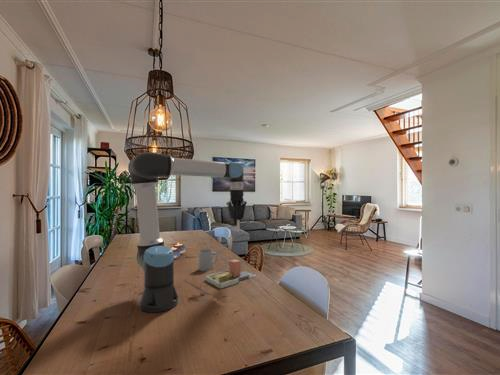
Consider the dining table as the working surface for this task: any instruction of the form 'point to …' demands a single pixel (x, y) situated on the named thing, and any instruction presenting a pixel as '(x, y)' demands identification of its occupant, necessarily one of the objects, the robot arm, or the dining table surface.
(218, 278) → the chip
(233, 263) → the salmon pink flat-faced block
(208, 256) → the mug
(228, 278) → the chip
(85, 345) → the dining table surface
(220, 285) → the tray
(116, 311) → the dining table surface
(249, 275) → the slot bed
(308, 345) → the dining table surface
